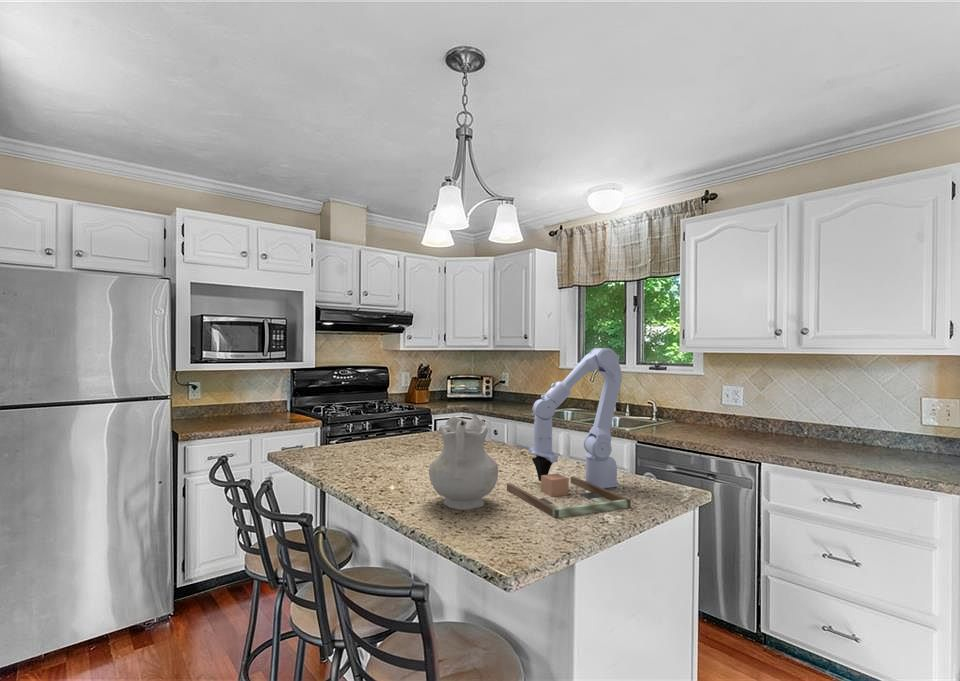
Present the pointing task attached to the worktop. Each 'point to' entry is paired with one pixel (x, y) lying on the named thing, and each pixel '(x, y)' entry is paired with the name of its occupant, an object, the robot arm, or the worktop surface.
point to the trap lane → (595, 493)
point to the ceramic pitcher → (463, 464)
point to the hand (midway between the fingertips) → (542, 480)
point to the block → (554, 485)
